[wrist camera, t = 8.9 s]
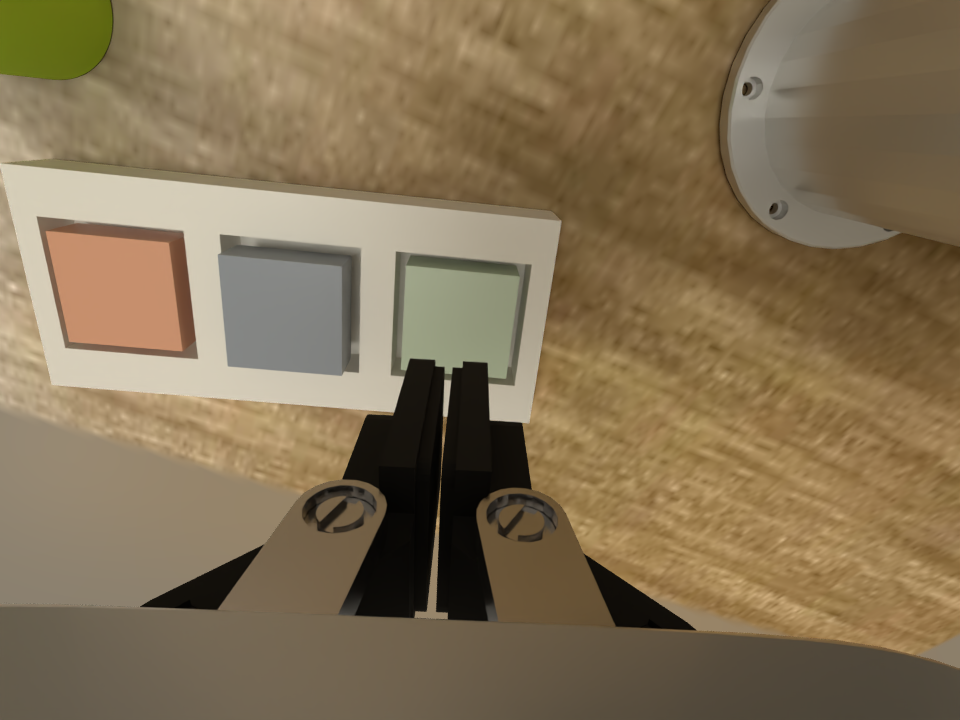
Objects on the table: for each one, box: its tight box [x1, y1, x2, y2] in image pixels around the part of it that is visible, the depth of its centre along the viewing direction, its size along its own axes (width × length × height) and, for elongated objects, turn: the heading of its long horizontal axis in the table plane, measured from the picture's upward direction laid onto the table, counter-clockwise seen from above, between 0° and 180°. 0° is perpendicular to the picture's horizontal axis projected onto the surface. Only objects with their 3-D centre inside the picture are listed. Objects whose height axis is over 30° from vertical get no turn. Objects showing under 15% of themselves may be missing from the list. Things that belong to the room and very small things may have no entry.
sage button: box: [401, 255, 520, 379], centre depth 25 cm, size 5×5×2 cm
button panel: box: [0, 159, 562, 423], centre depth 26 cm, size 23×10×3 cm, turn 84°
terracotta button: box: [46, 223, 196, 351], centre depth 25 cm, size 5×5×2 cm
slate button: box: [218, 245, 352, 376], centre depth 24 cm, size 5×5×2 cm
